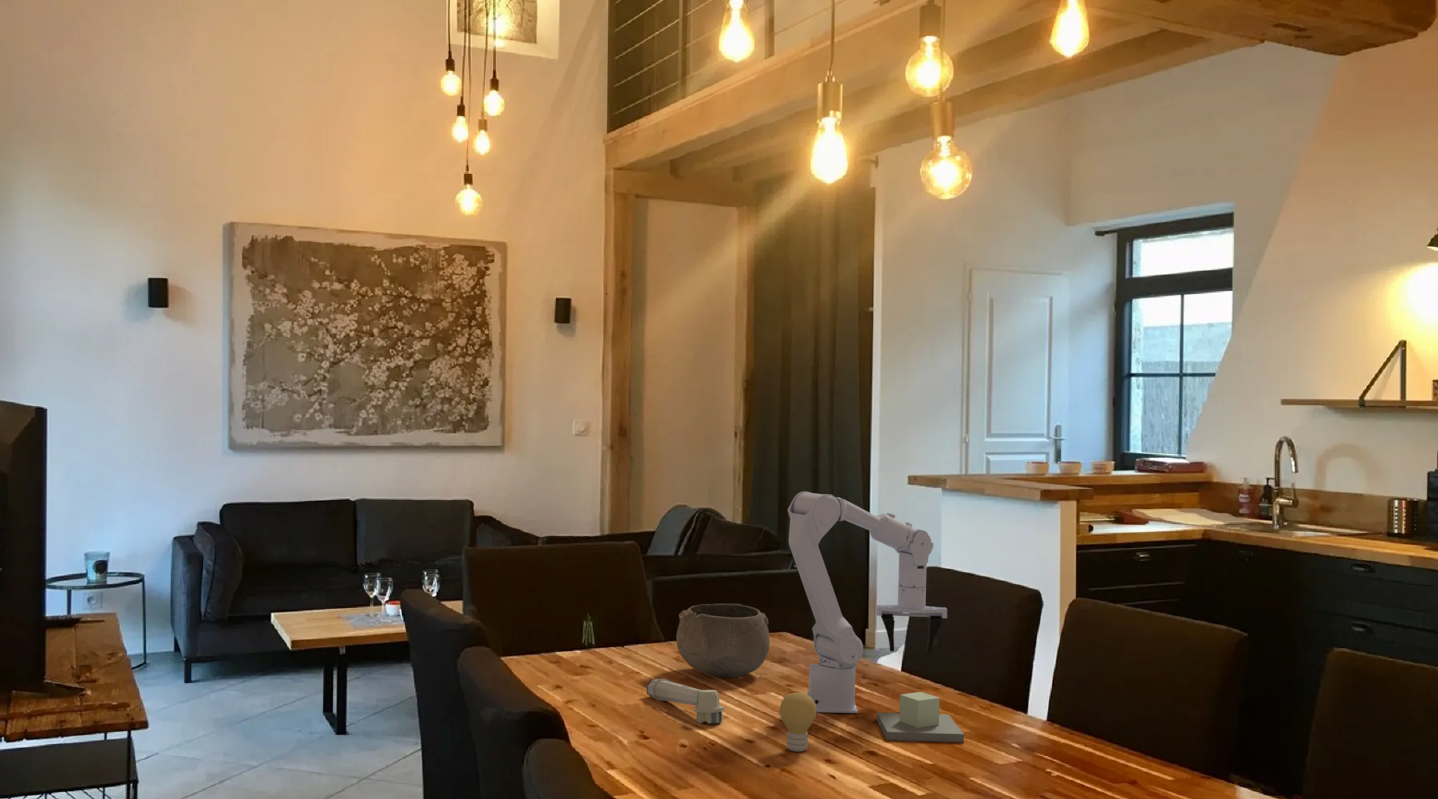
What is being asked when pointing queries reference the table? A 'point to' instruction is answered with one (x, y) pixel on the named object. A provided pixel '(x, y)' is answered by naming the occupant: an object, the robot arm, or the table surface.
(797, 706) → the light bulb
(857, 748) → the table surface
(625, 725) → the table surface
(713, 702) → the toothbrush head
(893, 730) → the post board
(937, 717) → the pale green cube
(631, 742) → the table surface
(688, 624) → the clay pot
